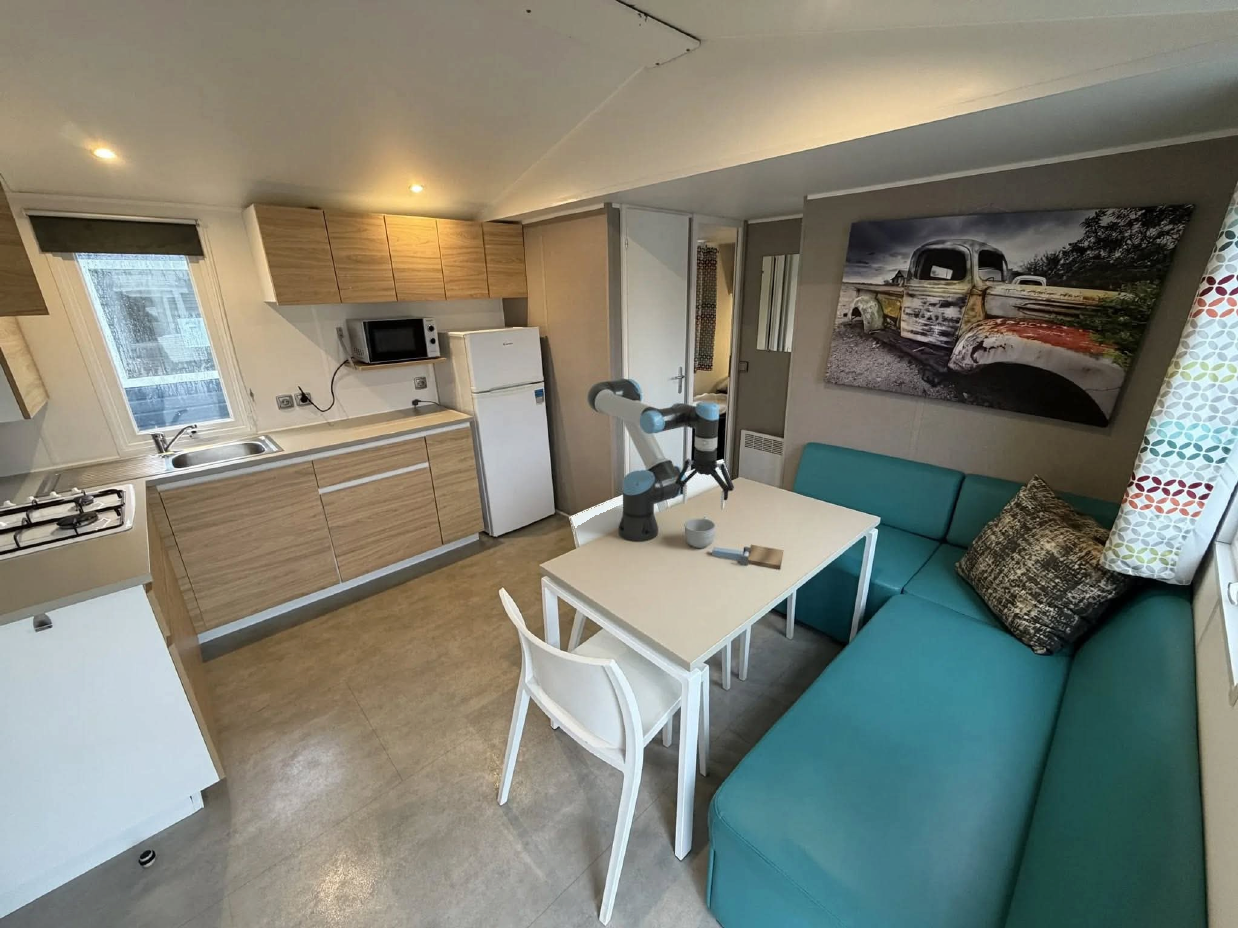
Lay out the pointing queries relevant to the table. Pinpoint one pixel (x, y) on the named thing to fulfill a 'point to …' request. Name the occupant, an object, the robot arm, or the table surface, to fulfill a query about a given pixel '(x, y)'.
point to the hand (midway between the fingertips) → (703, 505)
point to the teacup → (700, 532)
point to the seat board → (765, 556)
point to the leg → (728, 553)
